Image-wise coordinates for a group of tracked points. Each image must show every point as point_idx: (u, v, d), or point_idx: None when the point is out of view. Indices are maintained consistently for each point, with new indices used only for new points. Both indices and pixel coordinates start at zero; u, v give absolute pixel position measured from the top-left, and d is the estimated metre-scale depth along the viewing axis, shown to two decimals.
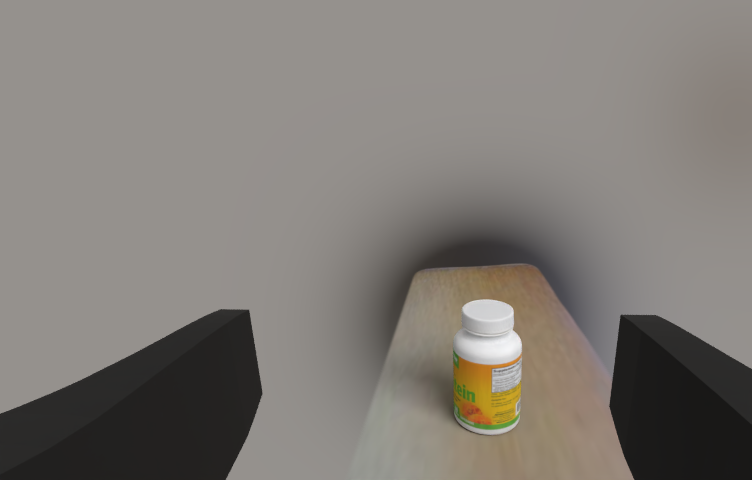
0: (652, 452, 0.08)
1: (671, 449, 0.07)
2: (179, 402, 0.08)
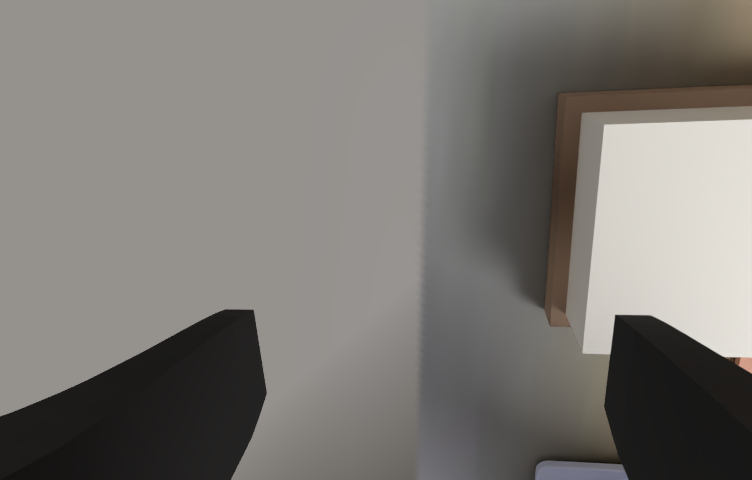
0: (645, 452, 0.08)
1: (664, 449, 0.07)
2: (185, 402, 0.08)
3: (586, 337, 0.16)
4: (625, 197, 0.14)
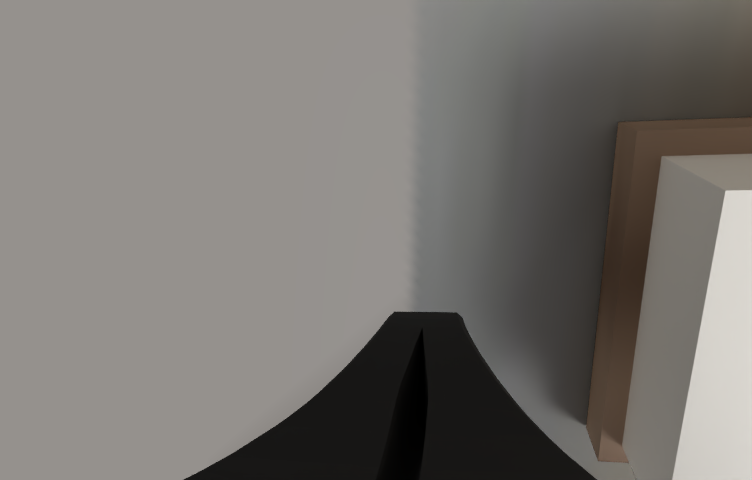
0: None
1: None
2: (407, 412, 0.07)
3: None
4: None
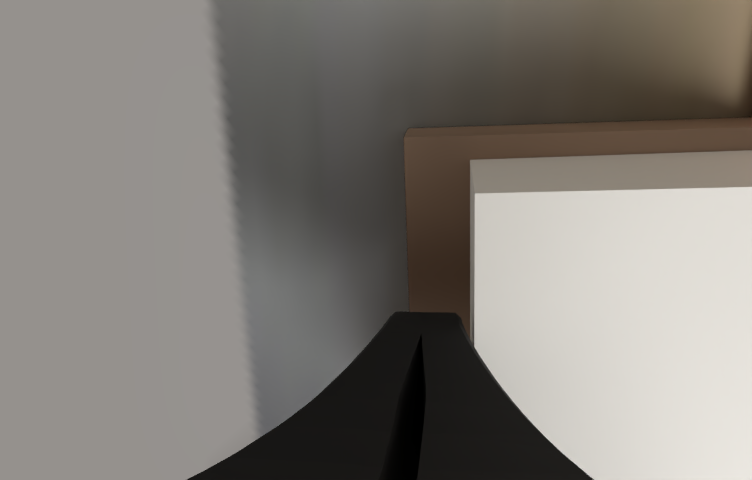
0: None
1: None
2: (409, 412, 0.07)
3: None
4: (519, 307, 0.09)
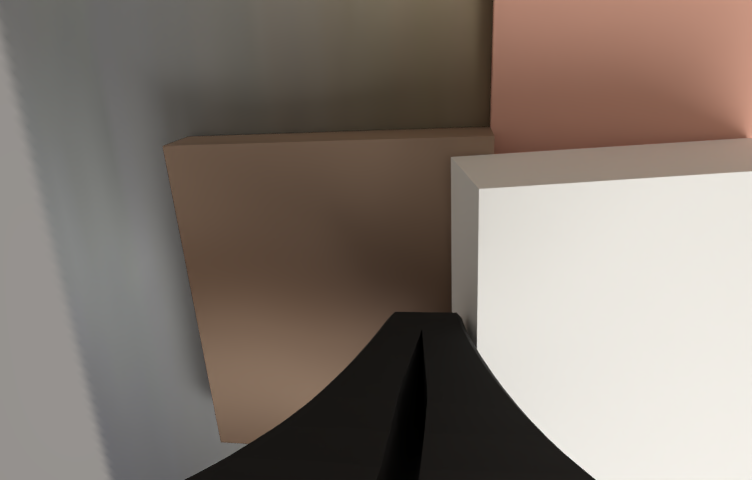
0: None
1: None
2: (408, 412, 0.07)
3: None
4: (521, 301, 0.09)
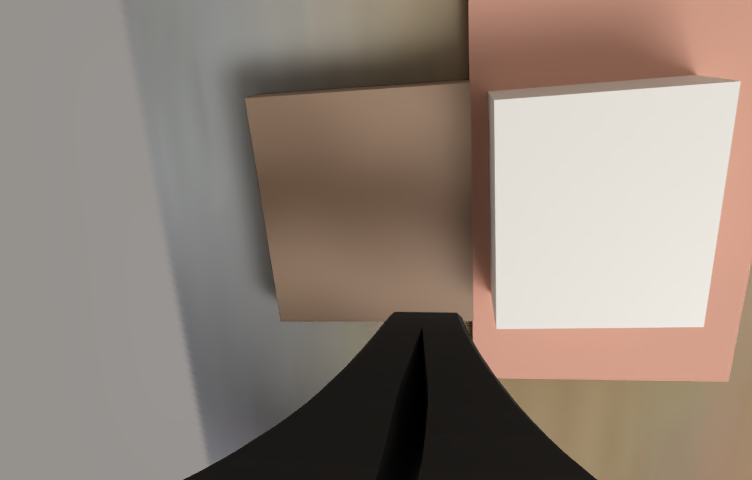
0: None
1: None
2: (407, 412, 0.07)
3: (498, 312, 0.16)
4: (522, 171, 0.14)
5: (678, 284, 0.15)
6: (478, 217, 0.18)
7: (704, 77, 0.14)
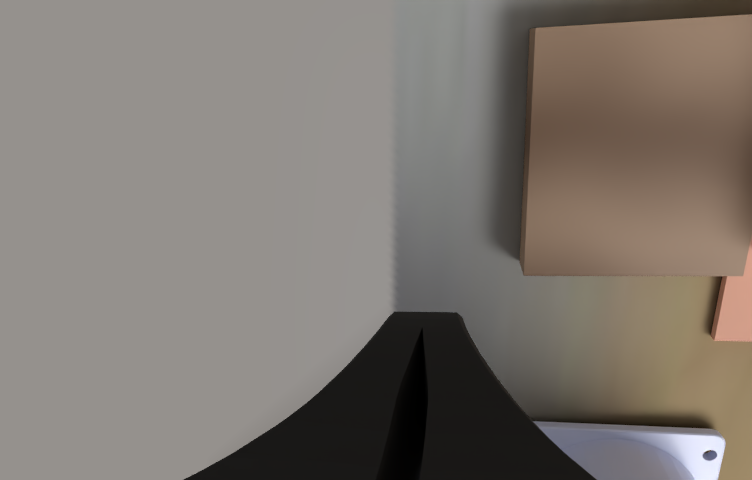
0: None
1: None
2: (407, 412, 0.07)
3: None
4: None
5: None
6: None
7: None
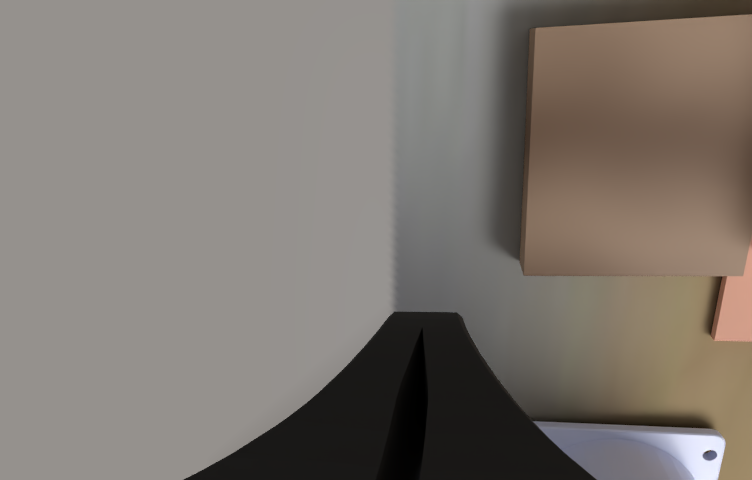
0: None
1: None
2: (407, 412, 0.07)
3: None
4: None
5: None
6: None
7: None
